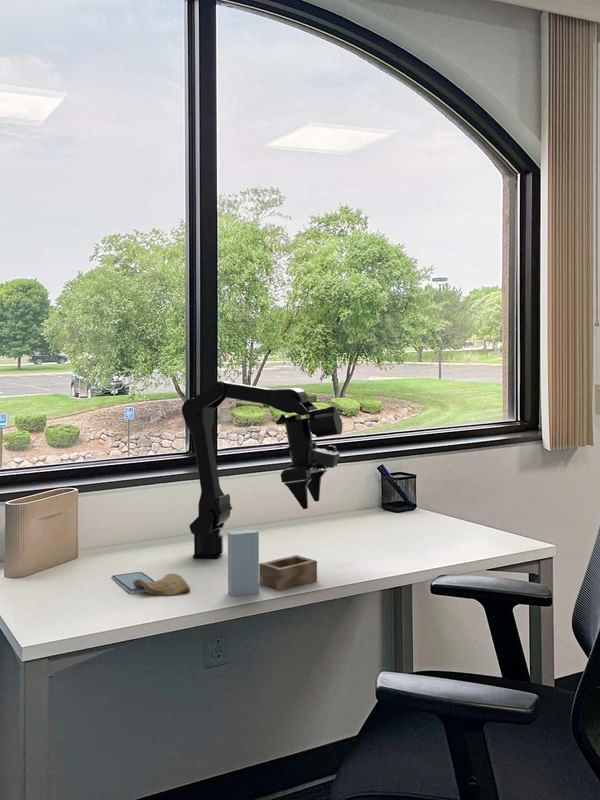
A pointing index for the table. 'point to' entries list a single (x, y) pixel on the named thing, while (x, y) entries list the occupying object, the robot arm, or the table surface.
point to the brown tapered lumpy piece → (165, 585)
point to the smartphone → (128, 580)
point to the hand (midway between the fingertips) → (311, 505)
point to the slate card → (243, 562)
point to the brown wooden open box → (287, 572)
